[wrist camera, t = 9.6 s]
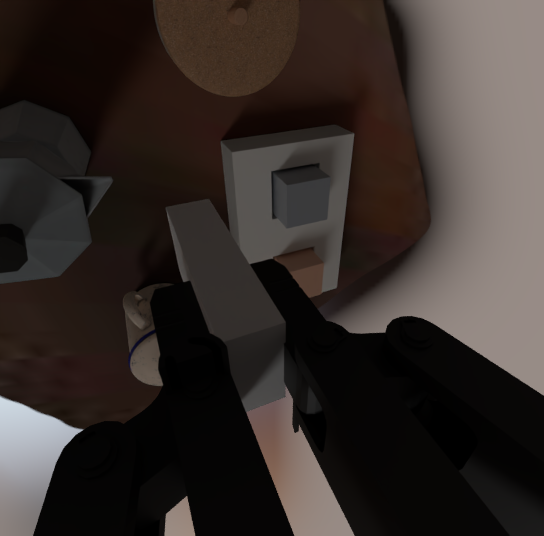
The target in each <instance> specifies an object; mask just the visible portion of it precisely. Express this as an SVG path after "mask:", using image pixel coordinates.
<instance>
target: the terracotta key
mask: <svg viewBox="0 0 544 536" xmlns="http://www.w3.org/2000/svg"><path fill="white" fill-rule="evenodd" d="M273 259H274V260H275V261H277V262H279V263H281V264H282V265H284V266H285V267H286V268H287V269H288V271H289V272H290V273H291V275H292V276H293V279H295V280H296V281H297V283H298V284H299V287H301V288H302V289H303V291H304V292H305V293H306V295H307V296H308V297H309V298H310V297H313V296H316V295H320V294H322V282H323V270H324V262H323V261H322V260H321V259H320V258H319V257H318V256H317V255H316V254H315V252H314V251H313V250H312V249H311V248H310V247H309V248H305V249H301V250H297V251H293V252H289V253H285V254H281V255H278V256H274V257H273Z"/></svg>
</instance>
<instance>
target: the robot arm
mask: <svg viewBox="0 0 544 536" xmlns="http://www.w3.org/2000/svg"><path fill="white" fill-rule="evenodd" d="M166 211H167V215H168V220H169V225H170V229H171V234H172V238H173V243H174V248H175V252H176V257H177V261H178V266H179V270H180V274H181V277H182V279H183V282H182V283H178V284H174V285H170V286H166V287H162V288H158V289H155V290H154V293H153V295H152V298H151V301H150V307H151V312H152V317H153V322H154V327H155V332H156V336H157V341H158V346H159V351H160V357H159V361H158V371H159V374H160V377H161V380H162V383H163V386H162V389H161V391H160V393H159V395H158V396H157V398H156V399H155V400H154V401H153V402H152V404H151V405H149V406H148V407H147V408H146V409H145V410H143V411H142V412H141V413H139V414H138V415H136V416H135V417H133V418H132V419H130V420H129V421H127V422H126V423H124V424H122V423H120V422H118V421H104V422H101V423H97V424H94V425H91V426H89V427H87V428H86V429H84V430H83V431H81V432H80V433H78V434H77V435H75V436H74V438H73V439H72V440H71V441H70V442H69V443H68V444H67V445H66V446H65V447H64V449H63V450H62V452H61V454H60V457H59V459H58V461H57V462H56V465H55V468H54V471H53V474H52V478H51V481H50V484H49V487H48V490H47V493H46V497H45V500H44V503H43V506H42V509H41V512H40V515H39V519H38V522H37V525H36V528H35V531H34V534H33V536H164V532H165V518H166V513H167V512H169V511H170V510H171V509H172V508H173V507H174V506H176V504H178V503H179V502H180V501H181V500H182V499H184V498H185V497H186V496H187V497H188V502H189V506H190V512H191V517H192V521H193V526H194V531H195V536H294V534H293V531H292V528H291V526H290V523H289V521H288V518H287V516H286V513H285V511H284V508H283V506H282V503H281V500H280V498H279V496H278V493H277V490H276V488H275V485H274V482H273V480H272V477H271V475H270V472H269V470H268V467H267V465H266V462H265V459H264V457H263V454H262V452H261V449H260V447H259V444H258V442H257V439H256V436H255V434H254V431H253V429H252V426H251V424H250V421H249V419H248V416H247V413H246V412H247V411H250V410H252V409H255V408H258V407H260V406H263V405H266V404H268V403H271V402H273V401H276V400H279V399H281V398H283V397H285V385H286V387H287V388H288V390H289V392H290V394H291V396H292V398H293V424H292V425H293V428H294V432H295V433H296V432H298V431H299V425H300V427H301V429H302V431H303V433H304V435H305V437H306V439H307V441H308V443H309V445H310V447H311V449H312V451H313V453H314V455H315V457H316V459H317V461H318V463H319V465H320V467H321V469H322V471H323V473H324V475H325V477H326V479H327V481H328V483H329V485H330V487H331V489H332V491H333V493H334V495H335V497H336V499H337V501H338V503H339V505H340V507H341V509H342V511H343V513H344V515H345V517H346V519H347V521H348V523H349V525H350V527H351V529H352V531H353V533H354V535H355V536H544V396H543V395H542V394H540V393H539V392H537V391H536V390H534V389H533V388H531V387H530V386H528V385H526V384H525V383H523V382H522V381H520V380H519V379H517V378H516V377H514V376H512V375H511V374H510V373H508V372H507V371H505V370H503V369H502V368H500V367H499V366H497V365H496V364H494V363H493V362H491V361H489V360H488V359H487V358H485V357H483V356H482V355H480V354H479V353H477V352H476V351H474V350H473V349H471V348H469V347H468V346H467V345H465V344H463V343H462V342H460V341H459V340H457V339H456V338H454V337H453V336H451V335H450V334H448V333H447V332H445V331H444V330H442V329H440V328H439V327H438V326H436V325H434V324H433V323H431V322H429V321H427V320H424V319H422V318H418V317H413V316H403V317H399V318H396V319H394V320H392V321H391V322H390V323H389V325H387V328H386V333H366V334H356V333H349V332H348V331H347V330H346V329H344V328H343V327H342V326H340V325H338V324H336V323H333V322H330V321H326V320H325V319H324V317H323V316H322V315H321V314H320V312H319V311H318V309H317V308H316V307H315V305H314V304H313V303H312V301H311V300H310V299H309V297H308V296H307V295H306V293H305V292H304V291H303V289H302V288H301V287H299V284H298V283H297V281H296V280H295V279H293V276H292V275H291V273H290V272H289V271H288V269H287V268H286V267H285V266H284V265H282V264H281V263H279V262H277V261H275V260H274V259H268V260H264V261H260V262H256V263H252V264H249V263H248V261H247V259H246V258H245V256H244V255H243V253H242V251H241V250H240V248H239V246H238V245H237V243H236V242H235V240H234V238H233V237H232V235H231V234H230V232H229V230H228V229H227V227H226V226H225V224H224V222H223V221H222V219H221V218H220V216H219V214H218V213H217V211H216V210H215V208H214V206H213V205H212V203H211V202H210V200H209V199H206V200H201V201H195V202H190V203H185V204H180V205H174V206H169V207H166Z"/></svg>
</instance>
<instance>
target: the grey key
mask: <svg viewBox="0 0 544 536" xmlns="http://www.w3.org/2000/svg"><path fill="white" fill-rule="evenodd" d="M330 181H331V177H330V176H329V175H327V174H326V173H325V172H323V171H322V170H320V169H319V168H317V167H316V166H315V165H313V164H309V165H303V166H298V167H292V168H286V169H281V170H275V171H271V186H272V213H273V214H274V215H275V216H276V217H277V218H278V219H279V220H280V222H281V223H282V224H283V225H284V226H285V227H286V228H287V229H288V228H292V227H296V226H301V225H305V224H309V223H314V222H318V221H322V220H327V218H328V206H329V194H330Z"/></svg>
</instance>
